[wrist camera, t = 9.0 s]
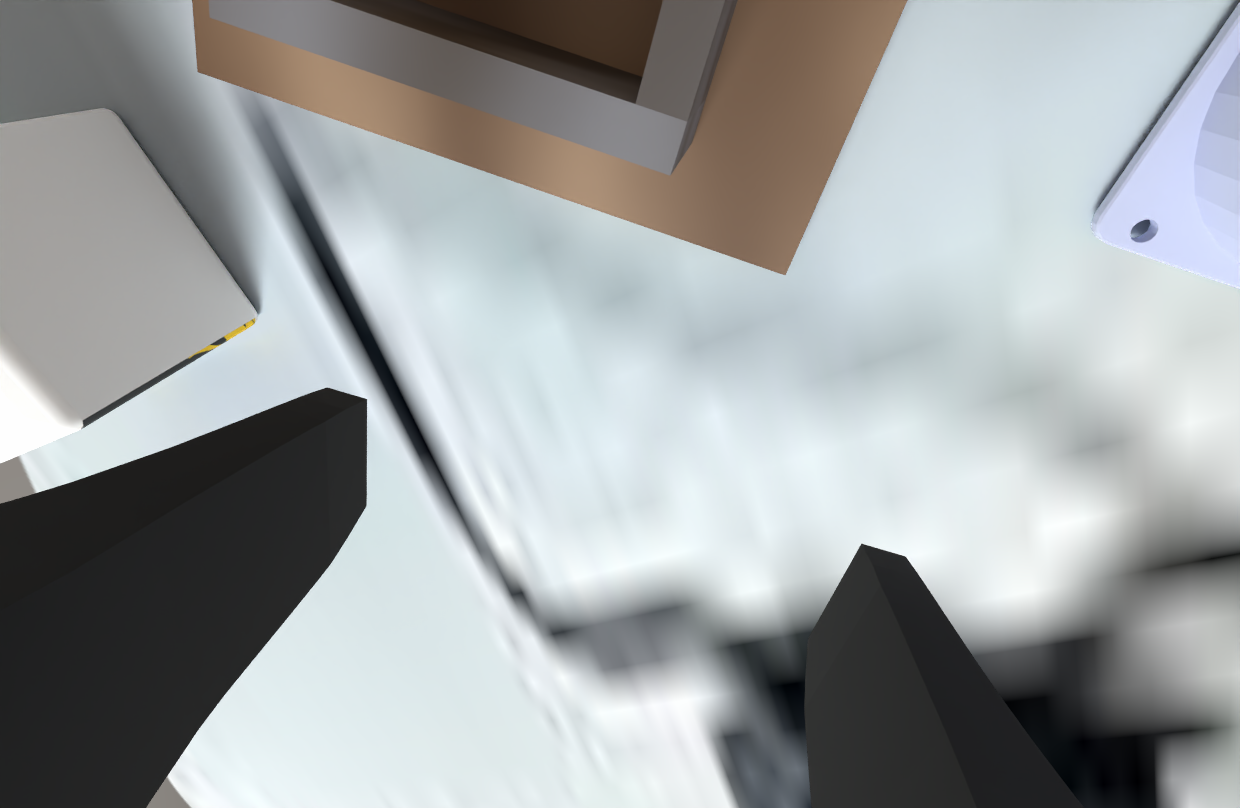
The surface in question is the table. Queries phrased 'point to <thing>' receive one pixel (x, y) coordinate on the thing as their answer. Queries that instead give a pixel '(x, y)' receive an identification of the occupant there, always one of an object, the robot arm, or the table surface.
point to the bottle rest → (587, 95)
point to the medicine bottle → (96, 278)
